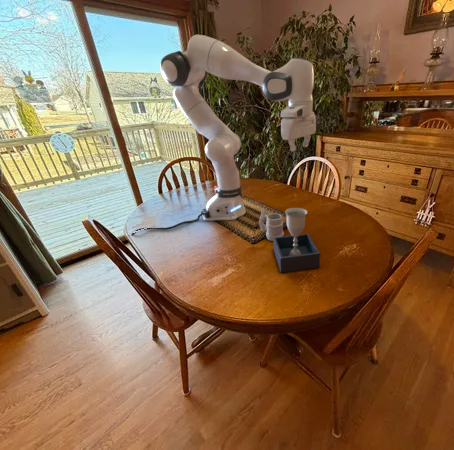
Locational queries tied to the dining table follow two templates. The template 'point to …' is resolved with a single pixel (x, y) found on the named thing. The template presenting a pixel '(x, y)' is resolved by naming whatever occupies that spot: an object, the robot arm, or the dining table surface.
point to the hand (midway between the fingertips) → (299, 148)
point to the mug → (272, 224)
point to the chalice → (295, 225)
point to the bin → (296, 262)
